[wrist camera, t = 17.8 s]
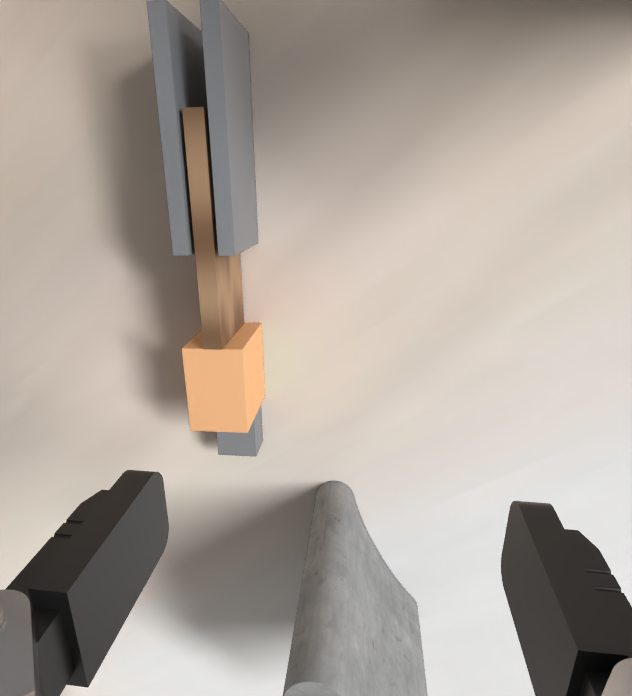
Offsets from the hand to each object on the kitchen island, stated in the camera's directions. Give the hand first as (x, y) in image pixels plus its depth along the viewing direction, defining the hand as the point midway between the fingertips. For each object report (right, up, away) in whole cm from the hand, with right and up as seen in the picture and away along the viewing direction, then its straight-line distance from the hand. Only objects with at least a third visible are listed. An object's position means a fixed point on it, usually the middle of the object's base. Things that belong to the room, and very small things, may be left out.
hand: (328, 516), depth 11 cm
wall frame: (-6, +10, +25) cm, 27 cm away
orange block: (-6, +3, +27) cm, 28 cm away
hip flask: (+4, -14, +32) cm, 35 cm away
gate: (-6, +12, +24) cm, 28 cm away
